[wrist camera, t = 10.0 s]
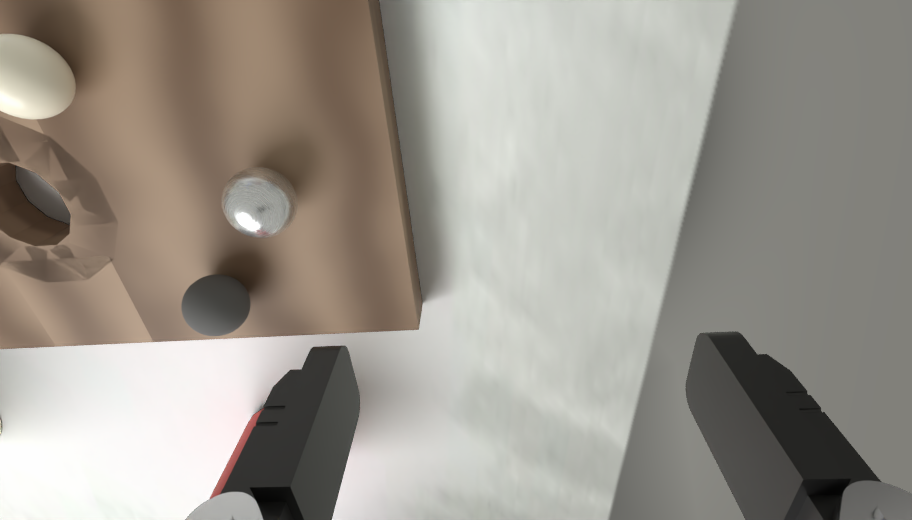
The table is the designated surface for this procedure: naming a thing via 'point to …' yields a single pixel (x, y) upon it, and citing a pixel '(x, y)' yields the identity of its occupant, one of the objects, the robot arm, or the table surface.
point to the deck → (206, 172)
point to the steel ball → (259, 202)
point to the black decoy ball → (215, 305)
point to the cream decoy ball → (33, 78)
